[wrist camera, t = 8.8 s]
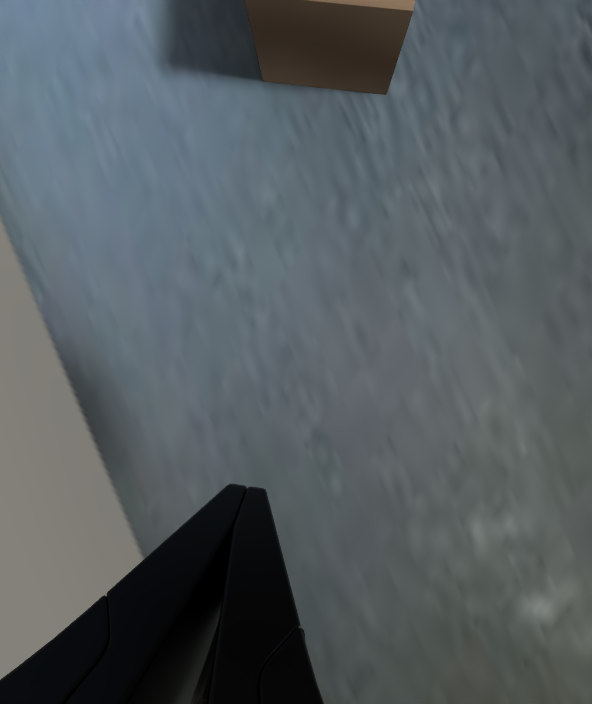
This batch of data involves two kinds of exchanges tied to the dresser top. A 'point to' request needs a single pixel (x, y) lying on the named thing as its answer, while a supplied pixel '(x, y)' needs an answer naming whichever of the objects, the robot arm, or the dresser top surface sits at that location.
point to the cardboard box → (329, 41)
